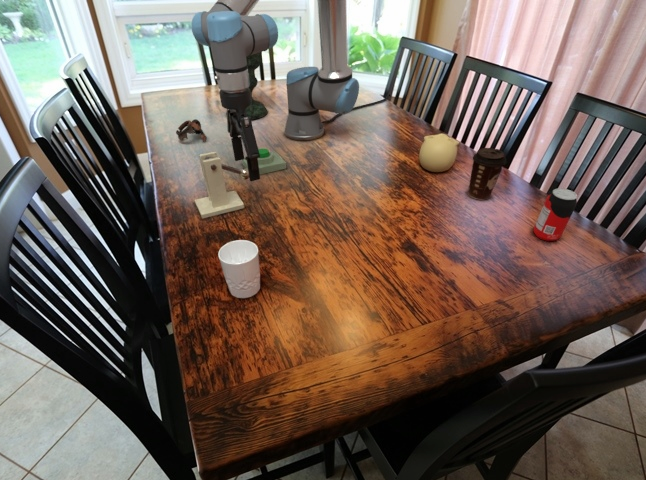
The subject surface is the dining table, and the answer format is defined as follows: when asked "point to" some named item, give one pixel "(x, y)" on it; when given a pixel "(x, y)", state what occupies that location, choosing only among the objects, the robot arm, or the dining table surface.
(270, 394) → the dining table surface
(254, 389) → the dining table surface
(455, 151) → the sculpture
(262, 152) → the light button
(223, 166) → the switch lever
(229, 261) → the white cup
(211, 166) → the switch bracket
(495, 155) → the coffee cup
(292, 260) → the dining table surface
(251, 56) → the goblet
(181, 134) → the dark curved strip cluster
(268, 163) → the button block
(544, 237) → the beverage can
